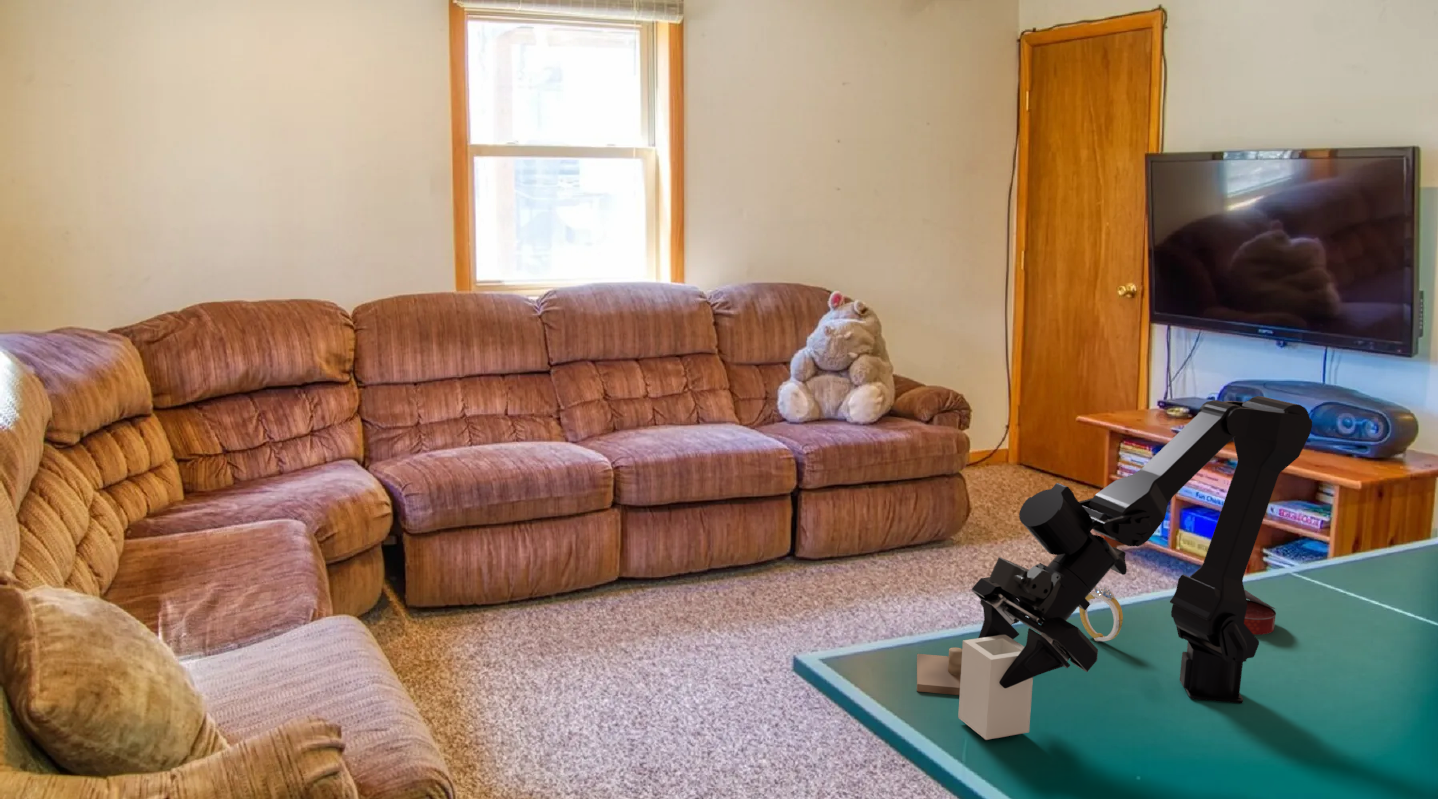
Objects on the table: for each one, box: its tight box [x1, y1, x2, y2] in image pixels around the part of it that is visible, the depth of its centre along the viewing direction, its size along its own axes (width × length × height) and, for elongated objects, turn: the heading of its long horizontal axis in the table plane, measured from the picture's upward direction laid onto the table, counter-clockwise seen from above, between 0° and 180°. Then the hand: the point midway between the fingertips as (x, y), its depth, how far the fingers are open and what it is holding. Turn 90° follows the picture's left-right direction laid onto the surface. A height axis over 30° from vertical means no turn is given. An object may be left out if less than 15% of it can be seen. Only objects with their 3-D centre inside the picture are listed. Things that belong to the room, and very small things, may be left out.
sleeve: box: [957, 635, 1034, 741], centre depth 139 cm, size 6×6×10 cm
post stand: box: [916, 646, 962, 696], centre depth 154 cm, size 10×10×4 cm
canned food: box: [1244, 588, 1277, 636], centre depth 176 cm, size 10×9×9 cm
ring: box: [1078, 585, 1124, 642], centre depth 167 cm, size 7×3×8 cm, turn 25°
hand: (986, 675), depth 138 cm, fingers closed on sleeve, 6 cm apart
